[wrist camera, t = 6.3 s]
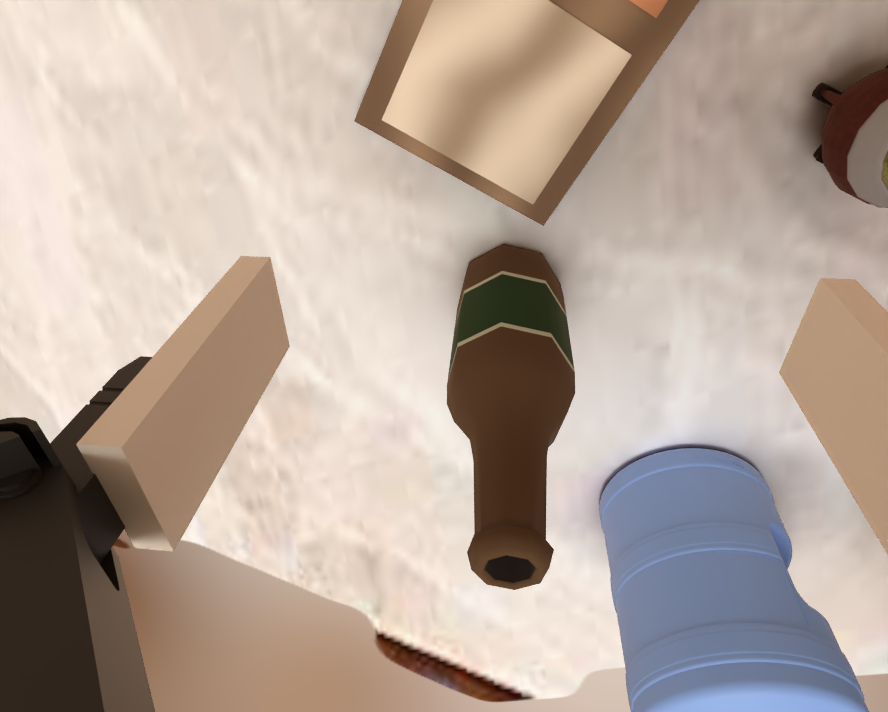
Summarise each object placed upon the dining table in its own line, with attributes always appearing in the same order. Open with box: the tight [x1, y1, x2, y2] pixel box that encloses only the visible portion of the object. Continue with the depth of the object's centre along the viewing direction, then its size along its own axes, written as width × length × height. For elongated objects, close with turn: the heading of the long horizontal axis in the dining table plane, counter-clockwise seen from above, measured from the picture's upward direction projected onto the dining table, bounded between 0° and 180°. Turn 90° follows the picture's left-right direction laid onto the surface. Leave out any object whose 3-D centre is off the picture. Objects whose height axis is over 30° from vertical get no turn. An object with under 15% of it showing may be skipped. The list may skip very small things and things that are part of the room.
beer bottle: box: [447, 245, 575, 590], centre depth 33 cm, size 8×8×24 cm
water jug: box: [599, 448, 869, 712], centre depth 45 cm, size 16×16×28 cm
